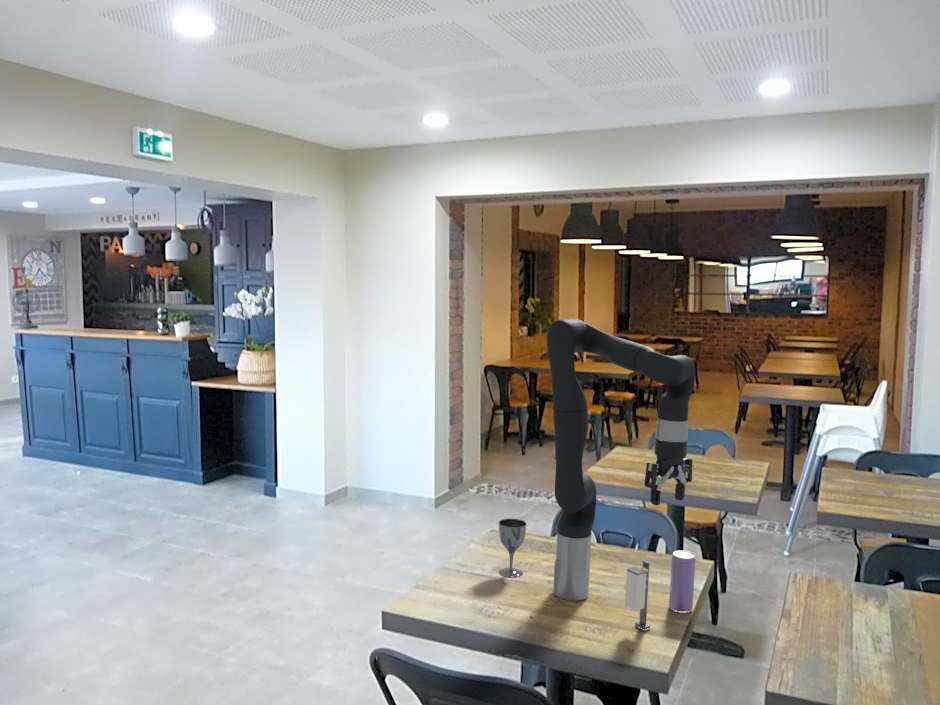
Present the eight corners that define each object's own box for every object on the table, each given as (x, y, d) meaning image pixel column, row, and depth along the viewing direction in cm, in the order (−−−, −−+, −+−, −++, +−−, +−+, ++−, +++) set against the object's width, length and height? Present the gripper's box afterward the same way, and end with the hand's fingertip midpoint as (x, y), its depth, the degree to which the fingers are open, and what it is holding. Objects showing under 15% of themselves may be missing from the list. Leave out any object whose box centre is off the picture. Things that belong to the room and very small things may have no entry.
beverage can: (693, 615, 195) (696, 559, 194) (669, 612, 196) (672, 557, 195) (691, 605, 201) (694, 551, 199) (668, 603, 202) (671, 549, 201)
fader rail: (644, 631, 185) (647, 564, 184) (635, 626, 188) (638, 560, 186) (649, 629, 186) (653, 562, 185) (640, 624, 189) (644, 559, 187)
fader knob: (635, 611, 182) (637, 574, 181) (624, 605, 185) (626, 569, 184) (644, 608, 184) (646, 571, 183) (633, 602, 187) (635, 566, 186)
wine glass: (529, 571, 221) (531, 521, 220) (516, 580, 214) (518, 529, 213) (505, 565, 225) (507, 516, 224) (492, 573, 219) (493, 523, 217)
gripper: (679, 431, 190) (675, 494, 192) (639, 436, 182) (635, 502, 184) (703, 437, 184) (698, 502, 186) (663, 443, 176) (658, 510, 178)
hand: (667, 502), depth 185 cm, fingers open, 8 cm apart
